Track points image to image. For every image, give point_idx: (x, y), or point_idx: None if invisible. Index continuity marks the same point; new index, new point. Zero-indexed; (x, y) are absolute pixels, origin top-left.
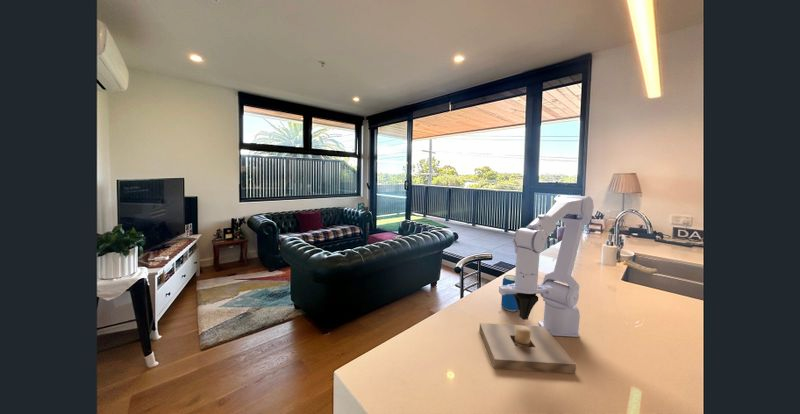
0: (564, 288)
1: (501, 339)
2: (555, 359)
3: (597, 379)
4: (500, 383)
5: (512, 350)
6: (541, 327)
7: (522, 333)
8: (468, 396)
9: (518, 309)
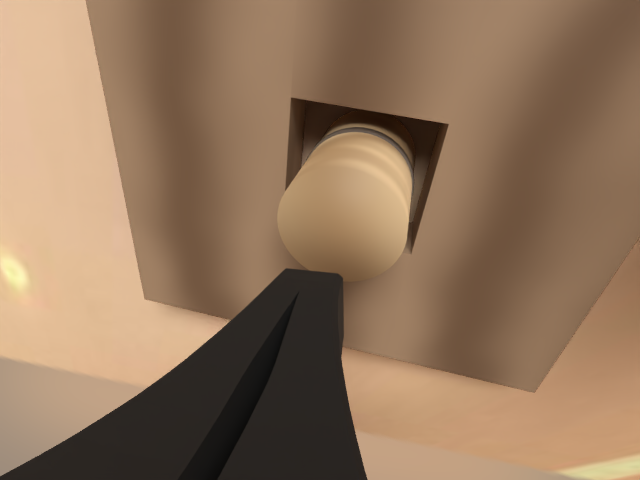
0: None
1: (212, 148)
2: (451, 350)
3: (598, 390)
4: (179, 332)
5: (248, 259)
6: None
7: (312, 267)
8: (81, 350)
9: (236, 316)
